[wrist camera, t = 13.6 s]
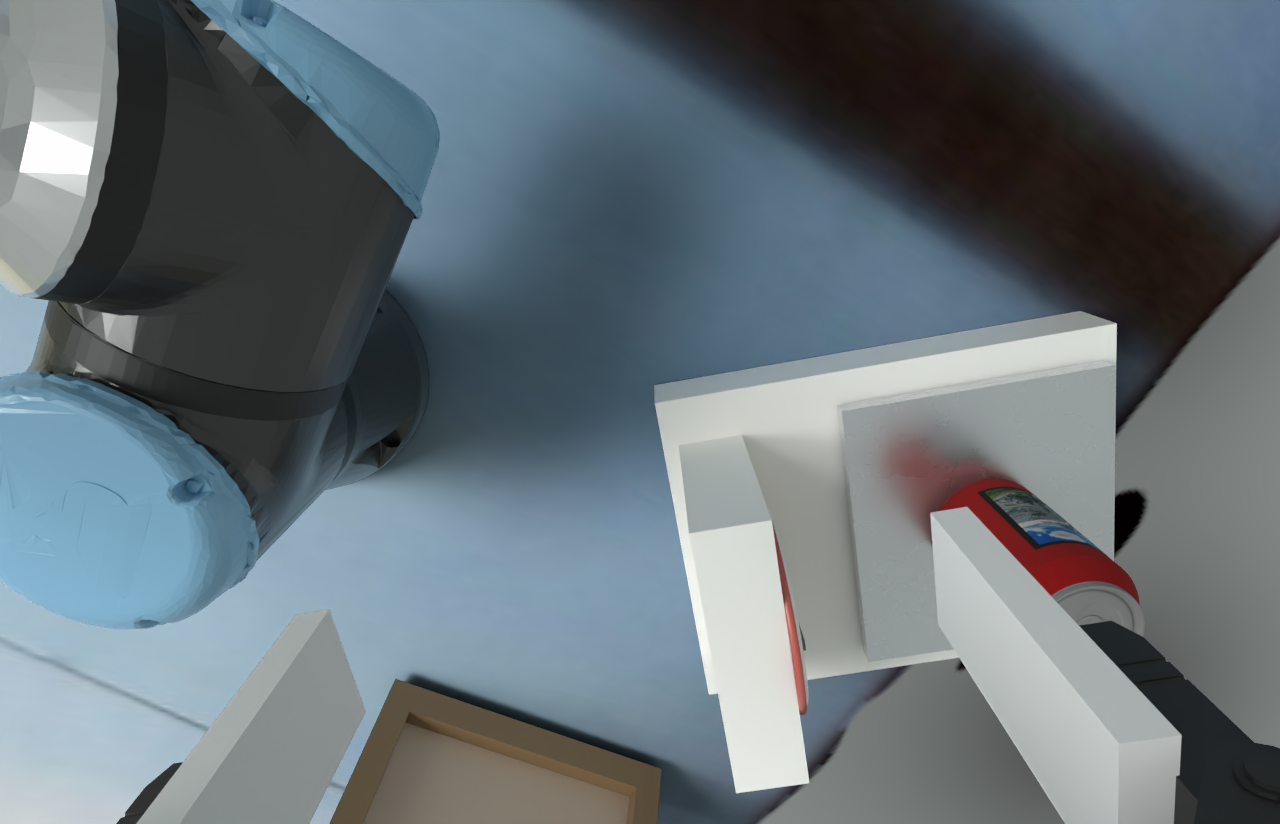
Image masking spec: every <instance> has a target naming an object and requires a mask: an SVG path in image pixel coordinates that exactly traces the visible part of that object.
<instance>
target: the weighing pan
mask: <svg viewBox="0 0 1280 824" xmlns="http://www.w3.org/2000/svg"><path fill="white" fill-rule="evenodd" d="M837 410H838V419H839V428H840V438H841V447H842V456H843V466H844V475H845V484H846V493H847V503H848V512H849V521H850V530H851V540H852V549H853V558H854V568H855V577H856V586H857V595H858V605H859V614H860V623H861V632H862V642H863V651H864V653H865V656H866V658H867V660H868V662H872V661H879V660H886V659H892V658H899V657H906V656H913V655H919V654H926V653H933V652H940V651H946V650H953V649H954V648H953V647H952V645H951V644H950V642H949V641H948V639H947V638H946V636H945V634H944V633H943V631H942V630H941V628H940V627H939V625H938V617H937V602H936V588H935V574H934V559H933V545H932V531H931V516H930V513H931V512H937V511H940V509H941V508H942V506H943V505H944V503H945V502H946V501H947V500H948V499H949V498H950V497H951V496H952V495H953V494H954V493H956V492H957V491H958V490H960V489H961V488H963V487H965V486H967V485H969V484H971V483H974V482H977V481H981V480H986V479H1004V480H1009V481H1013V482H1015V483H1018V484H1020V485H1022V486H1023V487H1025V488H1026V489H1028V490H1029V491H1030V492H1031V493H1033V494H1034V495H1035V496H1036V497H1038V498H1039V499H1040V500H1041V501H1043V502H1044V503H1045V504H1046V505H1048V506H1049V507H1050V508H1051V509H1052V510H1054V511H1055V512H1056V513H1057V514H1059V515H1060V516H1061V517H1062V518H1063V519H1065V520H1066V521H1067V522H1068V523H1069V524H1071V525H1072V526H1073V527H1074V528H1075V529H1077V530H1078V531H1079V532H1080V533H1081V534H1082V535H1084V536H1085V537H1086V538H1087V539H1088V540H1090V541H1091V542H1092V543H1093V544H1094V545H1095V546H1097V547H1098V548H1099V549H1100V550H1101V551H1102V552H1104V553H1105V554H1106V555H1107V556H1108V557H1109V558H1110V559H1112V560H1113V506H1114V421H1115V365H1114V364H1111V363H1109V362H1107V361H1104V360H1101V361H1095V362H1089V363H1083V364H1077V365H1071V366H1065V367H1060V368H1054V369H1048V370H1042V371H1036V372H1030V373H1024V374H1018V375H1012V376H1007V377H1001V378H995V379H989V380H983V381H977V382H971V383H965V384H960V385H954V386H948V387H942V388H936V389H930V390H924V391H918V392H913V393H907V394H901V395H895V396H889V397H883V398H877V399H871V400H865V401H860V402H854V403H848V404H842V405H837Z"/></svg>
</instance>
